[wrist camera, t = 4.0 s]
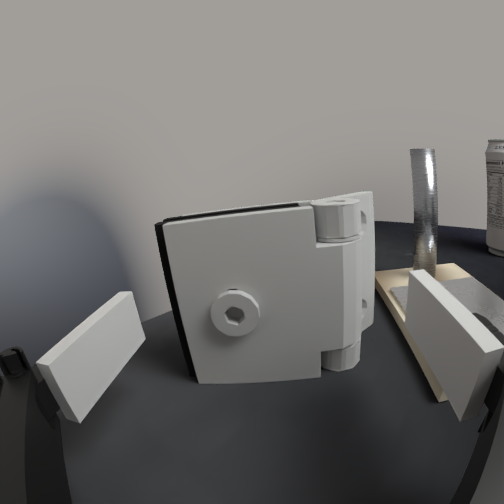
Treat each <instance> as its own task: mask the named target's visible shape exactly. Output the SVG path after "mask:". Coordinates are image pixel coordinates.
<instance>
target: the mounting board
mask: <svg viewBox="0 0 504 504" xmlns="http://www.w3.org/2000/svg"><path fill="white" fill-rule="evenodd" d="M409 271H413V268H405V269H396V270H386V271H376V272H375V288H376V289H377V291H378V292H379V294H380V296H381V297H382V299H383V301H384V302H385V304H386V306H387V307H388V309H389V311H390V312H391V314H392V316H393V317H394V319H395V321H396V323H397V324H398V326H399V328H400V330H401V331H402V333H403V335H404V337H405V339H406V340H407V342H408V344H409V346H410V348H411V349H412V351H413V353H414V355H415V357H416V359H417V361H418V362H419V364H420V366H421V368H422V370H423V372H424V374H425V376H426V378H427V380H428V382H429V384H430V386H431V388H432V390H433V392H434V394H435V396H436V398H437V400H438V402H442V401H446V400H448V398H447V396H446V394H445V392H444V391H443V389H442V387H441V385H440V383H439V381H438V380H437V378H436V376H435V374H434V373H433V371H432V369H431V367H430V366H429V364H428V362H427V361H426V359H425V357H424V355H423V354H422V352H421V350H420V349H419V347H418V345H417V344H416V342H415V341H414V339H413V337H412V336H411V334H410V332H409V331H408V329H407V328H406V326H405V317H406V313H405V312H404V311H403V309H402V308H401V306H400V305H399V303H398V302H397V300H396V299H395V297H394V296H393V294H392V293H391V292H390V287H399V286H408V281H409ZM467 277H472V276H471V275H469V274H468V273H467V272H465V271H464V270H463V269H461V268H460V267H458V266H457V265H456V264H454V263H449V264H441V265H436V274H435V278H434V279H435V280H436V281H438V282H439V281H446V280H453V279H460V278H467ZM473 278H474V277H473ZM477 281H478V280H477ZM481 284H482V283H481ZM486 288H487V287H486ZM490 291H491V290H490ZM494 294H495V293H494ZM495 295H496V294H495ZM499 298H500V297H499Z"/></svg>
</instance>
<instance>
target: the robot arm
mask: <svg viewBox="0 0 504 504" xmlns="http://www.w3.org/2000/svg"><path fill="white" fill-rule="evenodd" d="M405 326H406V328H407V329H408V331H409V332H410V334H411V336H412V337H413V339H414V341H415V342H416V344H417V345H418V347H419V349H420V350H421V352H422V354H423V355H424V357H425V359H426V361H427V362H428V364H429V366H430V367H431V369H432V371H433V373H434V374H435V376H436V378H437V380H438V381H439V383H440V385H441V387H442V389H443V391H444V392H445V394H446V396H447V398H448V400H449V402H450V404H451V405H452V407H453V409H454V411H455V413H456V415H457V417H458V419H459V421H460V422H461V421H464V420H466V419H469V418H472V417H475V416H478V415H479V412H480V410H481V408H482V406H483V404H484V403H485V404H486V406H487V407H488V409H489V410H488V412H487V414H486V416H485V418H484V420H483V422H482V424H481V426H480V428H479V430H478V432H480V435H479V438H478V441H477V444H476V446H475V449H474V452H473V454H472V457H471V459H470V462H469V464H468V467H467V469H466V472H465V474H464V476H463V478H462V481H461V483H460V485H459V487H458V489H457V491H456V493H455V495H454V497H453V499H452V501H451V503H450V504H504V335H503V334H502V333H501V332H500V331H499V330H498V329H497V328H496V327H495V326H493V324H492V323H491V322H490V321H489V320H488V319H487V318H486V317H484V316H482V315H480V314H478V313H471V312H470V311H469V310H468V309H467V308H466V307H465V306H464V305H463V304H462V303H460V302H459V301H458V300H457V299H456V298H455V297H454V296H453V295H452V294H451V293H450V292H449V291H448V290H446V289H445V288H444V287H443V286H442V285H441V284H440V283H439V282H438V281H436V280H435V279H434V278H433V277H432V276H431V275H430V274H428V273H427V272H426V271H425V270H424V269H422V270H413V271H409V281H408V295H407V307H406V317H405ZM144 341H145V335H144V332H143V329H142V326H141V322H140V319H139V315H138V312H137V308H136V305H135V302H134V298H133V294H132V292H119V293H118V294H117V295H115V296H114V297H113V298H111V299H110V300H109V301H108V302H107V303H105V304H104V305H103V306H102V307H100V308H99V309H98V310H97V311H95V312H94V313H93V314H92V315H91V316H89V317H88V318H87V319H86V320H85V321H83V322H82V323H81V324H80V325H79V326H77V327H76V328H75V329H74V330H73V331H72V332H70V333H69V334H68V335H67V336H66V337H64V338H63V339H62V340H61V341H60V342H59V343H58V344H56V345H55V346H54V347H53V348H52V349H50V350H49V351H48V352H47V353H46V354H45V355H44V356H42V357H41V358H40V359H39V360H38V361H37V362H36V364H35V365H34V366H33V367H32V368H31V367H30V365H29V363H28V360H27V358H26V356H25V354H24V352H23V350H22V348H20V347H12V348H9V349H6V350H5V351H3V352H1V353H0V367H1V370H2V372H3V374H4V375H5V377H3V376H0V504H72V500H71V496H70V491H69V486H68V481H67V475H66V469H65V463H64V456H63V448H62V439H61V429H60V420H59V417H58V415H57V414H56V412H57V411H58V410H59V409H61V411H62V412H63V414H64V416H65V417H66V419H68V420H71V421H74V422H77V423H81V422H82V420H83V419H84V418H85V416H86V415H87V414H88V412H89V411H90V410H91V409H92V407H93V406H94V405H95V403H96V402H97V401H98V399H99V398H100V397H101V395H102V394H103V393H104V392H105V390H106V389H107V388H108V386H109V385H110V384H111V382H112V381H113V380H114V379H115V377H116V376H117V375H118V373H119V372H120V371H121V370H122V368H123V367H124V366H125V365H126V363H127V362H128V361H129V359H130V358H131V357H132V356H133V354H134V353H135V352H136V351H137V349H138V348H139V347H140V346H141V344H142V343H143V342H144Z"/></svg>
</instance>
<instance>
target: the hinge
mask: <svg viewBox="0 0 504 504" xmlns="http://www.w3.org/2000/svg"><path fill="white" fill-rule="evenodd" d="M155 231H156V236H157V242H158V247H159V252H160V257H161V262H162V267H163V271H164V276H165V280H166V285H167V290H168V294H169V298H170V302H171V307H172V311H173V315H174V319H175V323H176V327H177V331H178V335H179V338H180V342H181V346H182V349H183V353H184V357H185V360H186V364H187V367H188V370H189V374H190V376H197V379H198V382H199V384H234V383H259V382H275V381H288V380H299V379H309V378H318V377H321V366H322V367H323V368H324V369H329V370H333V371H343V370H347V369H351V368H353V367H354V366H355V365H356V364H357V363H358V362H359V360H360V343H361V332H362V331H363V330H365V329H366V328H367V327H369V326H370V325H372V324H373V315H374V290H375V234H374V209H373V192H365V191H363V192H357V193H352V194H346V195H340V196H335V197H329V198H324V199H319V200H314V201H312V200H306V201H295V202H285V203H275V204H266V205H257V206H249V207H241V208H233V209H232V208H231V209H224V210H216V211H207V212H200V213H193V214H186V215H182V216H180V217H173V218H167V219H164V220H163V222H159V223H156V224H155Z"/></svg>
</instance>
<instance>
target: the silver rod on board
mask: <svg viewBox="0 0 504 504" xmlns="http://www.w3.org/2000/svg"><path fill="white" fill-rule="evenodd" d="M410 156H411V167H412V181H413V202H414V258H413V270H422V269H424V270H425V271H426V272H427V273H428V274H430V275H431V276H432V277H433V278H435V274H436V260H437V238H438V199H437V175H436V161H435V150H434V149H410ZM439 283H440V284H441V285H442V286H443V287H444V288H445V289H446V290H448V291H449V292H450V293H451V294H452V295H453V296H454V297H455V298H456V299H457V300H458V301H459V302H460V303H462V304H463V305H464V306H465V307H466V308H467V309H468V310H469V311H470V312H471V313H478V314H480V315H482V316H484V317H486V318H487V319H488V320H489V321H490V322H491V323H492V324H493V326H495V327H496V328H497V329H498V330H499V331H500V332H501V333H502V334H503V335H504V301H503V300H502V299H501V298H499V297H498V296H497V295H495V294H494V293H493V292H492V291H490V290H489V289H488V288H486V287H485V286H484V285H483V284H481V283H480V282H479V281H477V280H476V279H475V278H473V277H467V278H460V279H453V280H446V281H439ZM390 292H391V293H392V294H393V296H394V297H395V299H396V300H397V302H398V303H399V305H400V306H401V308H402V309H403V311H404V312H405V313H406V307H407V295H408V286H399V287H390Z"/></svg>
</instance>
